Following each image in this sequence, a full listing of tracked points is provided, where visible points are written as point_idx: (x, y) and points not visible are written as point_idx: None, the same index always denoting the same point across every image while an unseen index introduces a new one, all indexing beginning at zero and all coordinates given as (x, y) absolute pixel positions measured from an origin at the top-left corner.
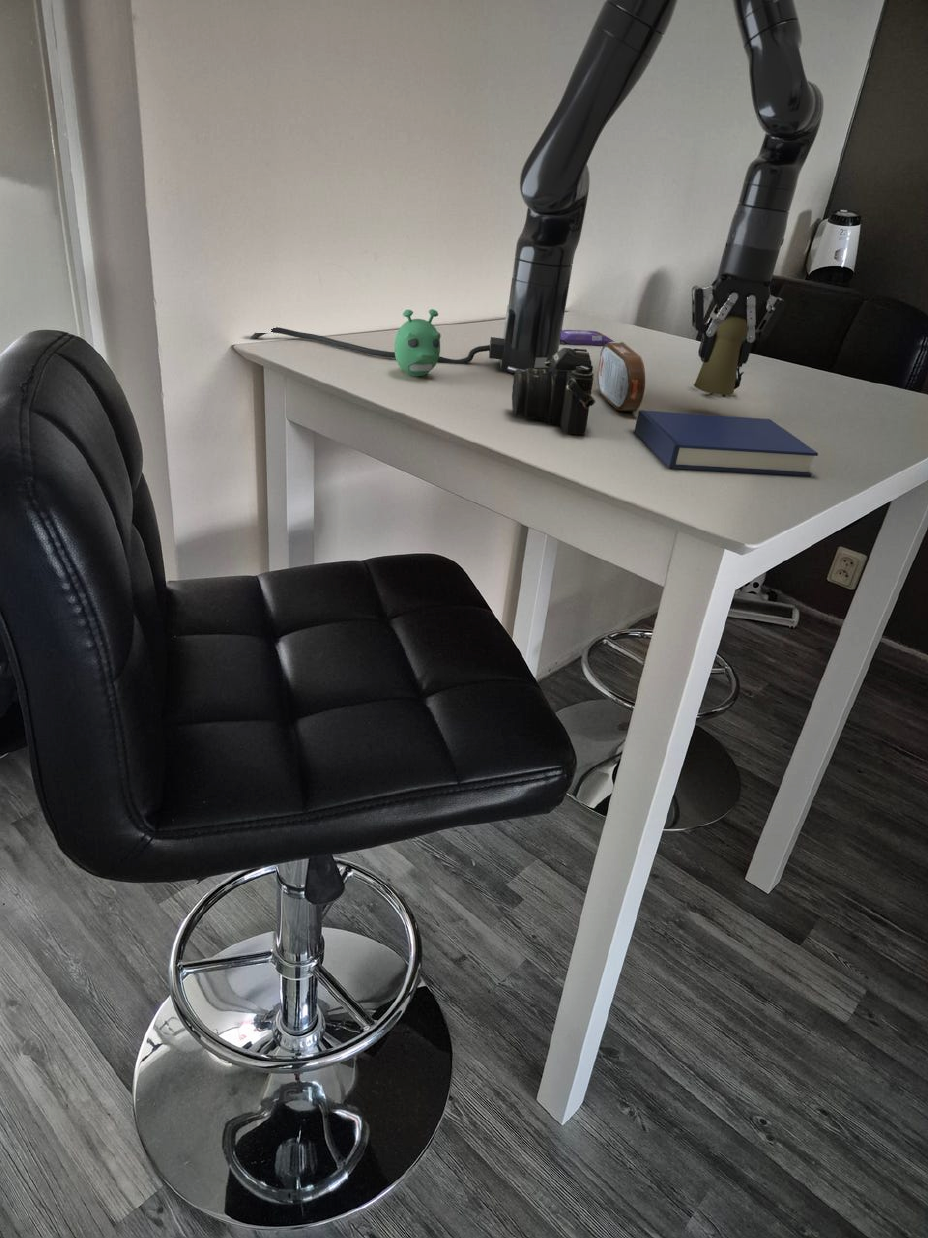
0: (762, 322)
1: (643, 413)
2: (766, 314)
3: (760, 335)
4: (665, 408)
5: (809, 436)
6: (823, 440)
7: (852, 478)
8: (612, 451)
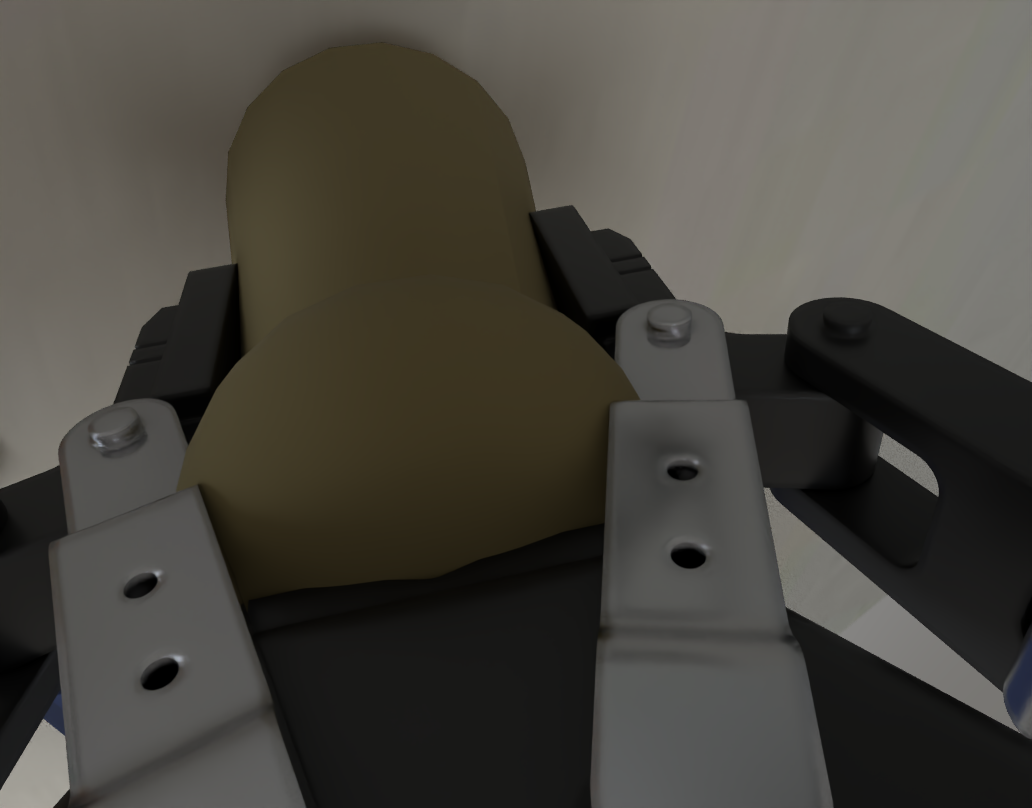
0: (900, 443)
1: (62, 727)
2: (1011, 512)
3: (775, 490)
4: (94, 160)
5: (891, 243)
6: (936, 270)
7: (820, 614)
8: (54, 793)
